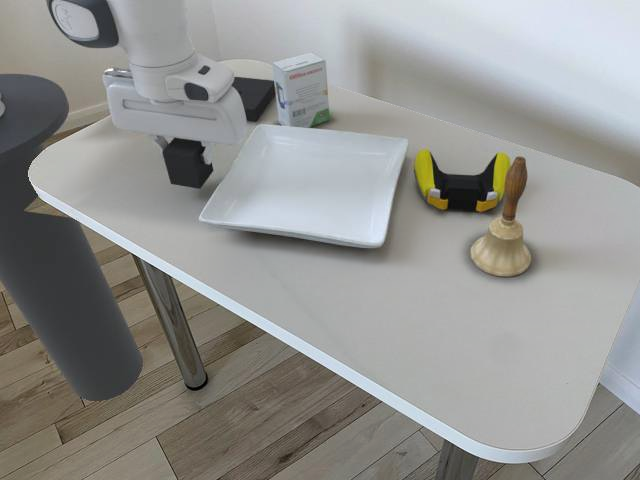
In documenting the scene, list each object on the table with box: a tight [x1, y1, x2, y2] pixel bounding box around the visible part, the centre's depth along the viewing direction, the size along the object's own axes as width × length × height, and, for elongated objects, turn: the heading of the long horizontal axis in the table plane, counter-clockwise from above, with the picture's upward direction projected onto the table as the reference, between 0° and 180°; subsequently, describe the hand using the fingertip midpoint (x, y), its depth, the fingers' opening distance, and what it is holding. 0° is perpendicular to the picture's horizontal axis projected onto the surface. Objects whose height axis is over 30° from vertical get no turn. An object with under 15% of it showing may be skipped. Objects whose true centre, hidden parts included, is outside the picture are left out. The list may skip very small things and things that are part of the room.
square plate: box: [198, 123, 410, 249], centre depth 87 cm, size 27×27×4 cm
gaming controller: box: [413, 148, 512, 213], centre depth 86 cm, size 15×6×10 cm
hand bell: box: [469, 156, 532, 278], centre depth 72 cm, size 8×8×16 cm
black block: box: [162, 138, 215, 190], centre depth 85 cm, size 5×5×6 cm
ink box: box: [271, 52, 330, 128], centre depth 100 cm, size 9×5×12 cm, turn 123°
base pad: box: [231, 76, 276, 122], centre depth 110 cm, size 16×12×2 cm
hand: (188, 159), depth 85 cm, fingers closed on black block, 5 cm apart
